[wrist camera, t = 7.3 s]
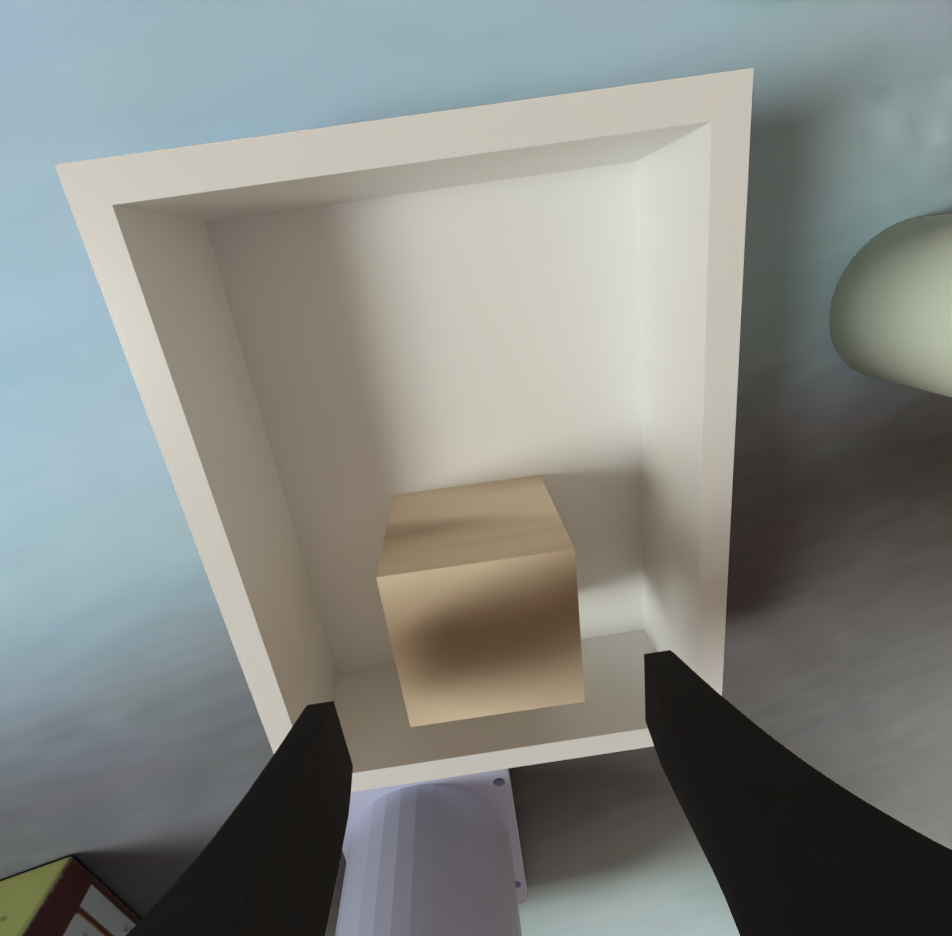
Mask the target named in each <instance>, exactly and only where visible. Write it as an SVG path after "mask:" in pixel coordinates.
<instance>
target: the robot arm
mask: <svg viewBox="0 0 952 936" xmlns="http://www.w3.org/2000/svg"><path fill="white" fill-rule="evenodd" d="M644 677H645V721H646V724H647V727H648V730H649V733H650V735H651V738H652V741H653V744H654V747H655V749H656V752H657V755H658V757H659V760H660V763H661V765H662V768H663V770H664V772H665V774H666V776H667V778H668V780H669V782H670V784H671V786H672V788H673V790H674V793H675V795H676V797H677V799H678V801H679V803H680V805H681V807H682V809H683V811H684V813H685V815H686V817H687V819H688V821H689V823H690V825H691V827H692V829H693V831H694V833H695V835H696V837H697V839H698V841H699V843H700V845H701V847H702V849H703V851H704V853H705V855H706V857H707V859H708V862H709V864H710V866H711V868H712V870H713V872H714V874H715V876H716V878H717V880H718V883H719V885H720V887H721V889H722V892H723V894H724V896H725V898H726V901H727V903H728V906H729V908H730V911H731V913H732V916H733V918H734V921H735V923H736V926H737V928H738V931H739V933H740V936H952V850H950V849H948V848H946V847H944V846H942V845H940V844H939V843H937V842H935V841H933V840H931V839H929V838H927V837H926V836H924V835H922V834H920V833H918V832H917V831H915V830H913V829H911V828H909V827H908V826H906V825H904V824H903V823H901V822H899V821H897V820H896V819H894V818H892V817H891V816H889V815H887V814H885V813H884V812H882V811H880V810H879V809H877V808H875V807H873V806H872V805H870V804H868V803H867V802H865V801H863V800H862V799H860V798H859V797H857V796H855V795H854V794H852V793H851V792H849V791H847V790H846V789H844V788H843V787H841V786H840V785H838V784H837V783H835V782H834V781H832V780H831V779H829V778H828V777H826V776H825V775H823V774H822V773H820V772H819V771H817V770H816V769H814V768H813V767H811V766H810V765H809V764H807V763H806V762H804V761H803V760H802V759H800V758H799V757H797V756H796V755H795V754H793V753H792V752H791V751H789V750H788V749H787V748H785V747H784V746H783V745H781V744H780V743H779V742H777V741H776V740H775V739H773V738H772V737H771V736H770V735H768V734H767V733H766V732H764V731H763V730H762V729H761V728H759V727H758V726H757V725H756V724H754V723H753V722H752V721H751V720H750V719H748V718H747V717H746V716H745V715H744V714H742V713H741V712H740V711H739V710H738V709H736V708H735V707H734V706H733V705H732V704H730V703H729V702H728V701H727V700H726V699H725V698H723V697H722V696H721V695H720V694H719V693H718V692H716V691H715V690H714V689H713V688H712V687H711V686H710V685H709V684H707V683H706V682H705V681H704V680H703V679H702V678H701V677H700V676H699V675H697V674H696V673H695V672H694V671H693V670H692V669H691V668H690V667H689V666H688V665H687V664H686V663H684V662H683V661H682V660H681V659H680V658H679V657H678V656H677V655H676V654H675V653H673V652H672V651H671V650H667V651H661V652H654V653H648V654H644ZM352 772H353V764H352V761H351V758H350V754H349V751H348V747H347V744H346V741H345V737H344V734H343V731H342V727H341V724H340V721H339V717H338V714H337V710H336V707H335V704H334V701H330V702H324V703H317V704H311V705H307V706H306V707H305V709H304V710H303V711H302V713H301V714H300V716H299V717H298V719H297V720H296V722H295V723H294V725H293V726H292V728H291V729H290V731H289V733H288V734H287V736H286V737H285V739H284V740H283V742H282V743H281V745H280V746H279V748H278V749H277V751H276V752H275V754H274V755H273V757H272V758H271V760H270V761H269V762H268V764H267V765H266V767H265V768H264V770H263V771H262V772H261V774H260V775H259V777H258V778H257V780H256V781H255V782H254V784H253V785H252V787H251V788H250V790H249V791H248V792H247V794H246V795H245V797H244V798H243V799H242V801H241V802H240V803H239V805H238V806H237V807H236V809H235V810H234V811H233V812H232V814H231V815H230V816H229V818H228V819H227V820H226V822H225V823H224V824H223V826H222V827H221V828H220V830H219V831H218V832H217V834H216V835H215V836H214V837H213V839H212V840H211V841H210V842H209V844H208V845H207V846H206V847H205V849H204V850H203V851H202V852H201V853H200V855H199V856H198V857H197V858H196V859H195V861H194V862H193V863H192V864H191V865H190V867H189V868H188V869H187V870H186V871H185V872H184V874H183V875H182V876H181V877H180V878H179V879H178V880H177V882H176V883H175V884H174V885H173V886H172V887H171V888H170V890H169V891H168V892H167V893H166V894H165V895H164V896H163V897H162V898H161V899H160V900H159V902H158V903H157V904H156V905H155V906H154V907H153V908H152V909H151V910H150V911H149V912H148V913H147V914H146V915H145V916H144V917H143V918H142V919H141V920H140V921H139V922H138V924H137V925H136V926H135V927H134V928H133V929H132V930H131V931H130V932H129V933H128V934H127V935H126V936H325V931H326V926H327V921H328V916H329V911H330V906H331V901H332V896H333V891H334V886H335V882H336V877H337V872H338V867H339V862H340V857H341V852H342V851H343V854H344V857H345V860H346V868H345V875H344V881H343V887H342V894H341V900H340V907H339V913H338V919H337V926H336V932H335V936H522V934H521V926H520V918H519V909H518V904H519V903H522V902H524V901H525V900H526V899H527V897H528V893H527V886H526V879H525V873H524V866H523V860H522V853H521V846H520V840H519V833H518V827H517V820H516V813H515V807H514V800H513V794H512V787H511V780H510V774H509V768H508V769H501V770H495V771H488V772H481V773H475V774H468V775H462V776H455V777H449V778H442V779H435V780H429V781H422V782H416V783H409V784H403V785H396V786H389V787H383V788H376V789H370V790H363V791H357V792H351V785H352Z"/></svg>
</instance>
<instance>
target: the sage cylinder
mask: <svg viewBox="0 0 952 936" xmlns="http://www.w3.org/2000/svg"><path fill="white" fill-rule="evenodd" d="M829 323H830V333H831V337H832V341H833V344H834V346H835V349H836V351H837V352H838V354H839V356H840V357H841V358H842V360H843V361H844V362H845V363H846V364H847V365H848V366H850V367H851V368H852V369H854V370H855V371H857V372H859V373H862V374H864V375H867V376H871V377H875V378H878V379H882V380H886V381H890V382H894V383H898V384H901V385H905V386H909V387H913V388H917V389H921V390H924V391H928V392H932V393H936V394H940V395H944V396H947V397H951V398H952V214H942V215H932V216H922V217H916V218H911V219H907V220H904V221H901V222H899V223H896V224H894V225H892V226H890V227H888V228H887V229H885V230H883V231H882V232H880V233H879V234H877V235H876V236H875V237H873V238H872V239H871V240H870V241H869V242H867V243H866V244H865V245H864V246H863V247H862V248H861V249H860V250H859V251H858V253H857V254H856V255H855V256H854V257H853V259H852V260H851V261H850V263H849V264H848V266H847V267H846V269H845V270H844V272H843V274H842V276H841V278H840V280H839V282H838V284H837V287H836V289H835V292H834V295H833V299H832V303H831V309H830V321H829Z"/></svg>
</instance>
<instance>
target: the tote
mask: <svg viewBox="0 0 952 936" xmlns="http://www.w3.org/2000/svg"><path fill="white" fill-rule="evenodd" d="M753 70H754V68H749V69H742V70H734V71H727V72H720V73H713V74H706V75H698V76H691V77H684V78H677V79H670V80H662V81H655V82H648V83H641V84H633V85H626V86H619V87H612V88H605V89H597V90H590V91H583V92H576V93H569V94H561V95H554V96H547V97H540V98H532V99H525V100H518V101H511V102H504V103H496V104H489V105H482V106H475V107H468V108H460V109H453V110H446V111H439V112H431V113H424V114H417V115H410V116H403V117H395V118H388V119H381V120H374V121H366V122H359V123H352V124H345V125H338V126H330V127H323V128H316V129H309V130H302V131H294V132H287V133H280V134H273V135H265V136H258V137H251V138H244V139H237V140H229V141H222V142H215V143H208V144H201V145H193V146H186V147H179V148H172V149H164V150H157V151H150V152H143V153H136V154H128V155H121V156H114V157H107V158H99V159H92V160H85V161H78V162H71V163H63V164H56V165H55V168H56V170H57V173H58V176H59V178H60V181H61V184H62V186H63V189H64V192H65V194H66V197H67V200H68V202H69V205H70V208H71V210H72V213H73V216H74V219H75V221H76V224H77V227H78V229H79V232H80V235H81V237H82V240H83V243H84V245H85V248H86V251H87V253H88V256H89V259H90V262H91V264H92V267H93V270H94V272H95V275H96V278H97V280H98V283H99V286H100V288H101V291H102V294H103V296H104V299H105V302H106V304H107V307H108V310H109V313H110V315H111V318H112V321H113V323H114V326H115V329H116V331H117V334H118V337H119V339H120V342H121V345H122V347H123V350H124V353H125V356H126V358H127V361H128V364H129V366H130V369H131V372H132V374H133V377H134V380H135V382H136V385H137V388H138V390H139V393H140V396H141V398H142V401H143V404H144V407H145V409H146V412H147V415H148V417H149V420H150V423H151V425H152V428H153V431H154V433H155V436H156V439H157V441H158V444H159V447H160V450H161V452H162V455H163V458H164V460H165V463H166V466H167V468H168V471H169V474H170V476H171V479H172V482H173V484H174V487H175V490H176V492H177V495H178V498H179V501H180V503H181V506H182V509H183V511H184V514H185V517H186V519H187V522H188V525H189V527H190V530H191V533H192V535H193V538H194V541H195V544H196V546H197V549H198V552H199V554H200V557H201V560H202V562H203V565H204V568H205V570H206V573H207V576H208V578H209V581H210V584H211V586H212V589H213V592H214V595H215V597H216V600H217V603H218V605H219V608H220V611H221V613H222V616H223V619H224V621H225V624H226V627H227V629H228V632H229V635H230V637H231V640H232V643H233V646H234V648H235V651H236V654H237V656H238V659H239V662H240V664H241V667H242V670H243V672H244V675H245V678H246V680H247V683H248V686H249V689H250V691H251V694H252V697H253V699H254V702H255V705H256V707H257V710H258V713H259V715H260V718H261V721H262V723H263V726H264V729H265V731H266V734H267V737H268V740H269V742H270V745H271V748H272V750H273V753H274V754H275V752H276V751H277V749H278V748H279V746H280V745H281V743H282V742H283V740H284V739H285V737H286V736H287V734H288V733H289V731H290V729H291V728H292V726H293V725H294V723H295V722H296V720H297V719H298V717H299V716H300V714H301V713H302V711H303V710H304V709H305V707H306V706H307V705H311V704H317V703H324V702H330V701H334V704H335V707H336V710H337V714H338V717H339V721H340V724H341V727H342V731H343V734H344V737H345V741H346V744H347V747H348V751H349V754H350V758H351V761H352V764H353V772H352V785H351V792H357V791H363V790H370V789H376V788H383V787H389V786H396V785H403V784H409V783H416V782H422V781H429V780H435V779H442V778H449V777H455V776H462V775H468V774H475V773H481V772H488V771H495V770H501V769H508V768H514V767H521V766H527V765H534V764H541V763H547V762H554V761H560V760H567V759H573V758H580V757H586V756H593V755H600V754H606V753H613V752H619V751H626V750H632V749H639V748H646V747H652V746H654V744H653V741H652V738H651V735H650V733H649V730H648V727H647V724H646V721H645V677H644V654H648V653H654V652H661V651H667V650H671V651H672V652H673V653H675V654H676V655H677V656H678V657H679V658H680V659H681V660H682V661H683V662H684V663H686V664H687V665H688V666H689V667H690V668H691V669H692V670H693V671H694V672H695V673H696V674H697V675H699V676H700V677H701V678H702V679H703V680H704V681H705V682H706V683H707V684H709V685H710V686H711V687H712V688H713V689H714V690H715V691H716V692H718V693H719V694H720V695H721V696H722V682H723V663H724V643H725V623H726V603H727V584H728V564H729V544H730V524H731V505H732V485H733V465H734V445H735V426H736V406H737V386H738V366H739V346H740V327H741V307H742V287H743V267H744V248H745V228H746V208H747V188H748V169H749V149H750V129H751V109H752V90H753ZM534 475H540V476H541V478H542V480H543V482H544V485H545V487H546V489H547V491H548V493H549V495H550V497H551V499H552V501H553V504H554V506H555V508H556V510H557V512H558V514H559V516H560V518H561V521H562V523H563V525H564V527H565V529H566V531H567V533H568V535H569V538H570V540H571V542H572V544H573V546H574V548H575V558H576V573H577V588H578V604H579V619H580V634H581V650H582V665H583V680H584V696H585V702H579V703H572V704H565V705H558V706H551V707H545V708H538V709H531V710H524V711H517V712H511V713H504V714H497V715H490V716H483V717H476V718H470V719H463V720H456V721H449V722H442V723H435V724H429V725H422V726H415V727H410V724H409V719H408V715H407V710H406V706H405V702H404V697H403V693H402V688H401V684H400V680H399V675H398V671H397V667H396V662H395V658H394V653H393V649H392V645H391V640H390V636H389V632H388V627H387V623H386V618H385V614H384V610H383V605H382V601H381V597H380V592H379V588H378V583H377V579H376V576H377V571H378V566H379V561H380V556H381V551H382V546H383V541H384V537H385V532H386V527H387V522H388V517H389V512H390V507H391V503H392V498H393V495H399V494H406V493H414V492H421V491H428V490H435V489H442V488H449V487H456V486H463V485H470V484H477V483H485V482H492V481H499V480H506V479H513V478H520V477H527V476H534Z"/></svg>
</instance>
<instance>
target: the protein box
mask: <svg viewBox="0 0 952 936" xmlns="http://www.w3.org/2000/svg"><path fill="white" fill-rule="evenodd" d="M139 921H140V919H139V918H138V917H137V916H136V915H135V914H134V913H133V912H131V911H130V910H129V909H128V908H127V907H126V906H125V905H124V904H123V903H122V902H121V901H120V900H119V899H118V898H117V897H116V896H114V895H113V894H112V893H111V892H110V891H109V890H108V889H107V888H106V887H105V886H103V885H102V883H101V882H100V881H98V880H97V879H96V878H95V877H94V876H93V875H92V874H91V873H89V872H88V871H87V870H86V869H85V868H84V867H83V866H82V865H81V864H80V863H79V862H78V861H77V860H76V859H75V858H73V857H67V858H64V859H61V860H59V861H56V862H53V863H50V864H48V865H45V866H42V867H39V868H36V869H34V870H31V871H28V872H25V873H22V874H19V875H16V876H13V877H11V878H8V879H5V880H2V881H0V936H126V935H127V934H128V933H129V932H130V931H131V930H132V929H133V928H134V927H135V926H136V925H137V924H138V922H139Z"/></svg>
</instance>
